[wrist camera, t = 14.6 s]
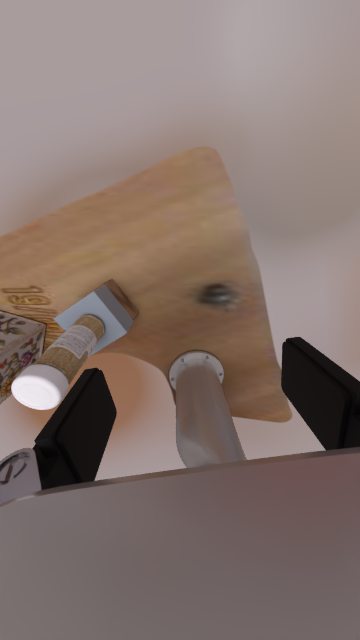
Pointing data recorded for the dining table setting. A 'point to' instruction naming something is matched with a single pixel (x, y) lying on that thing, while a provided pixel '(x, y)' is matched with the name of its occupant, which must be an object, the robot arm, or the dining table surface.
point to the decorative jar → (17, 348)
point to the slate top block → (99, 315)
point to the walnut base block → (121, 298)
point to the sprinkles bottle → (58, 365)
